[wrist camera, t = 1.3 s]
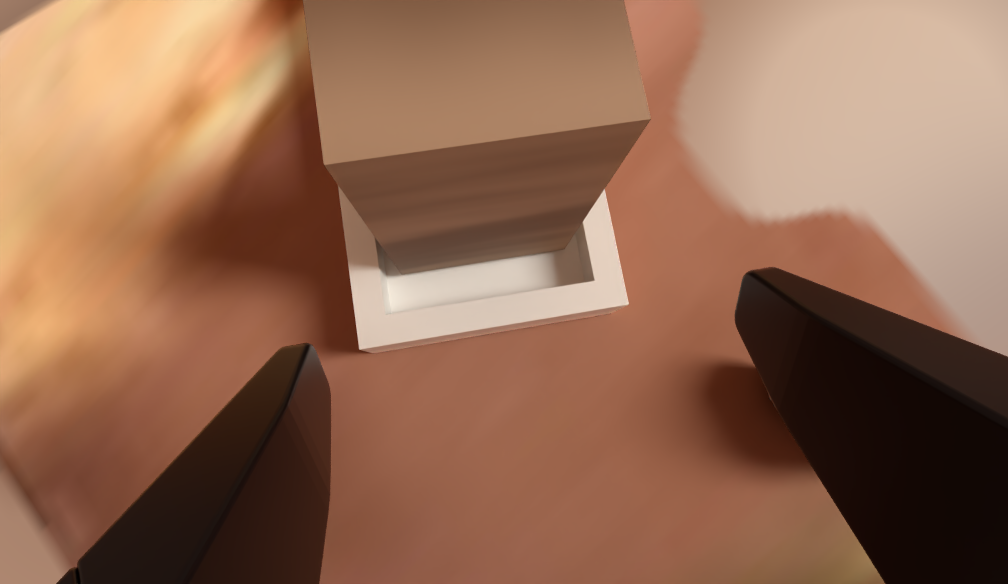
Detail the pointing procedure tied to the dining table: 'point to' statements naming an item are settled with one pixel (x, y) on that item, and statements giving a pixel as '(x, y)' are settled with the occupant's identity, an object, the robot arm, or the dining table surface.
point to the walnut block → (473, 119)
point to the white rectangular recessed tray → (480, 288)
